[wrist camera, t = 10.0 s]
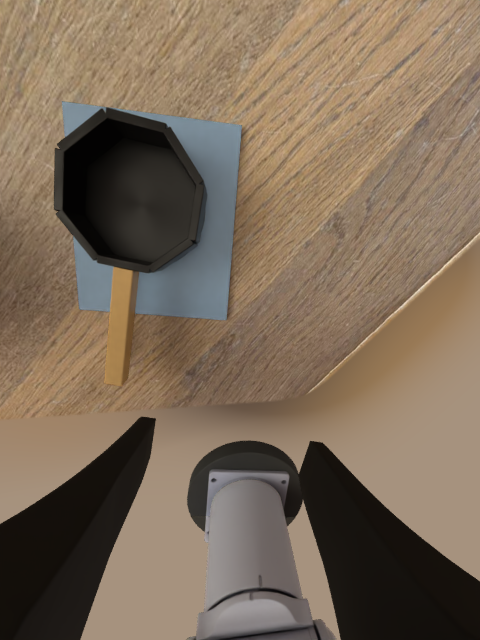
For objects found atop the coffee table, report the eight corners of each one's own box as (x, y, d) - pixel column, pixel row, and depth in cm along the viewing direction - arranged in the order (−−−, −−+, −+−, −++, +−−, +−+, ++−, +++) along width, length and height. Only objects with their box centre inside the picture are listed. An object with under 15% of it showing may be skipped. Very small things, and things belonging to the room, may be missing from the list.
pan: (88, 123, 15) (55, 92, 12) (215, 156, 16) (212, 135, 13) (77, 357, 19) (50, 376, 16) (179, 374, 20) (171, 394, 17)
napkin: (226, 319, 19) (226, 320, 19) (81, 308, 18) (78, 309, 18) (241, 127, 16) (242, 124, 16) (64, 103, 15) (61, 100, 15)
